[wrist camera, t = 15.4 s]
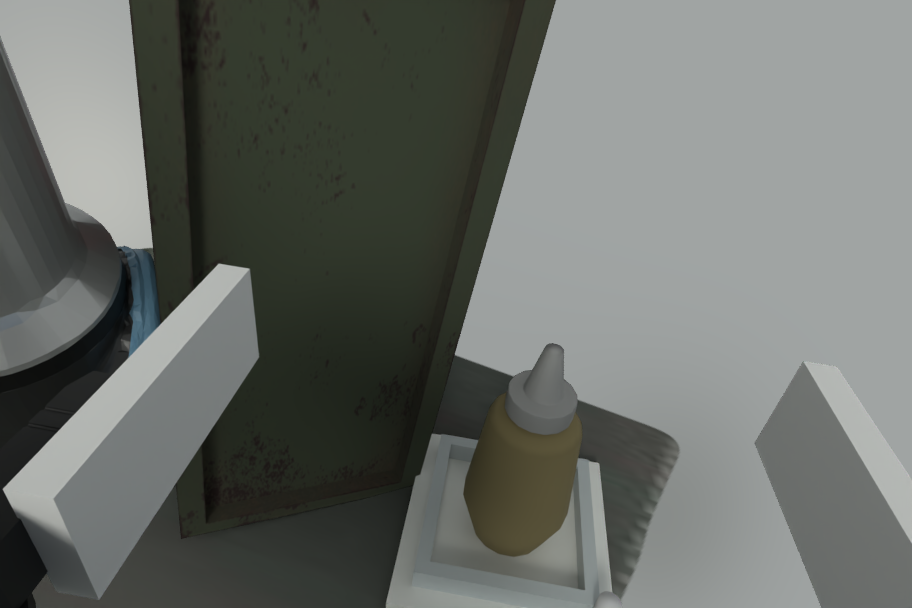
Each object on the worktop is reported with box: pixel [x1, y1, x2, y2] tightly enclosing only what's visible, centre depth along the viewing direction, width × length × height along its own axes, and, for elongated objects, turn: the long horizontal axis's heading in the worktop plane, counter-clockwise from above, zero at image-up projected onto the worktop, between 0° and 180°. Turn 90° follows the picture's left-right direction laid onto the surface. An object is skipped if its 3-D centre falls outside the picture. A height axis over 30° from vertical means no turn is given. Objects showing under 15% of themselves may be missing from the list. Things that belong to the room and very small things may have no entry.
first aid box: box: [129, 0, 556, 539], centre depth 41 cm, size 18×18×40 cm
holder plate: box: [386, 434, 622, 608], centre depth 45 cm, size 16×16×4 cm
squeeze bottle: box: [463, 343, 582, 557], centre depth 40 cm, size 8×8×18 cm
